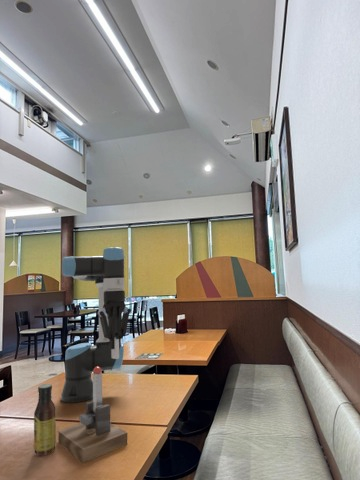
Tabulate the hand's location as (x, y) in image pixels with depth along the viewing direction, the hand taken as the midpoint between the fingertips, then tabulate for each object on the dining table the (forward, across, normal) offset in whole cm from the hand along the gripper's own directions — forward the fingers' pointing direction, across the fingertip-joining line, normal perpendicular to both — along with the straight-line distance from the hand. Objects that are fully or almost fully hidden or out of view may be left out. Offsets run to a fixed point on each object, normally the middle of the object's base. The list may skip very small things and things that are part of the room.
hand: (115, 358), depth 115 cm
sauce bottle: (+25, -22, +6) cm, 34 cm away
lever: (+18, -9, 0) cm, 20 cm away
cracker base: (+25, -9, 0) cm, 27 cm away
